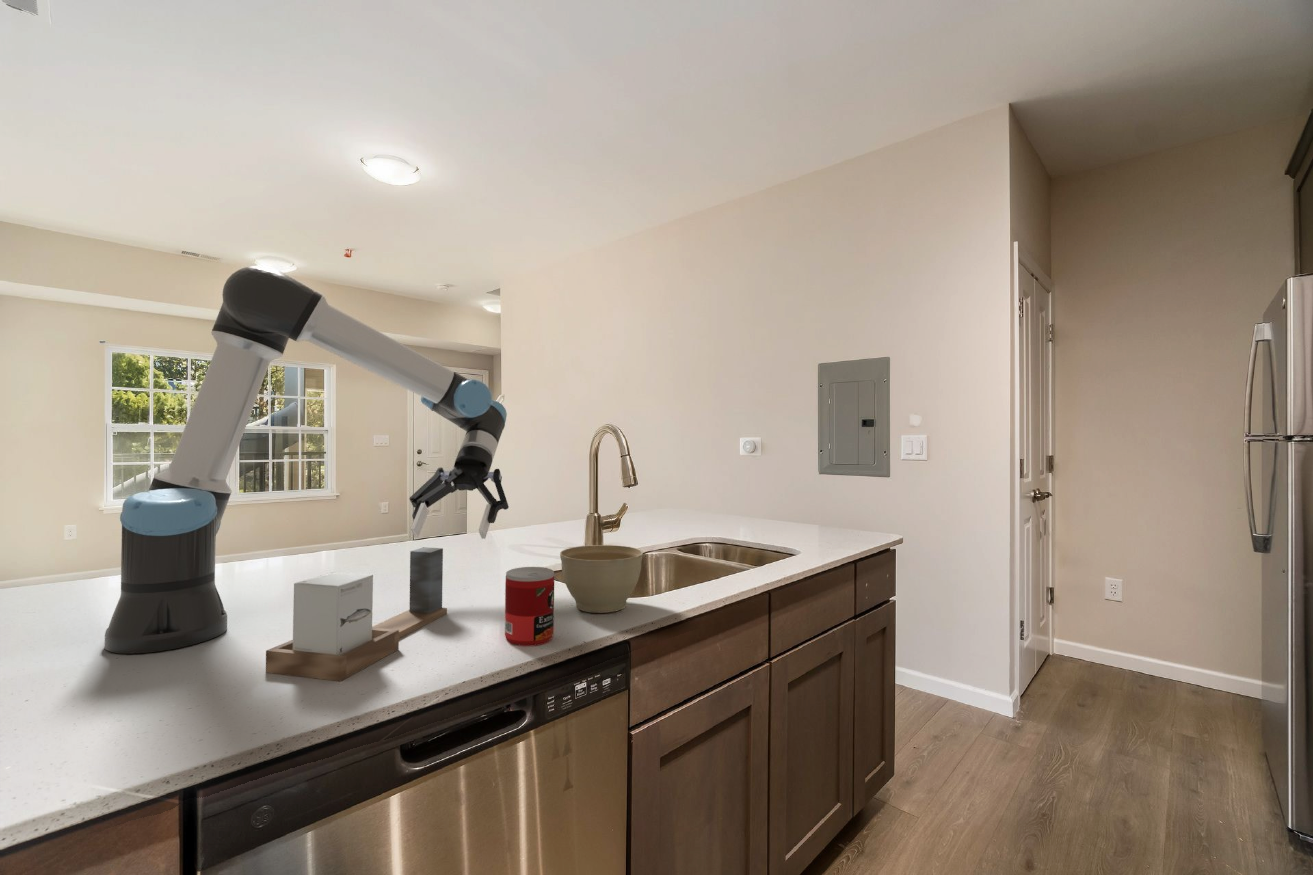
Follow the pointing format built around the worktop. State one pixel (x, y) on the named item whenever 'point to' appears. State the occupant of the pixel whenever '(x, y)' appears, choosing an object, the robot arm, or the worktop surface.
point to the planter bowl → (601, 575)
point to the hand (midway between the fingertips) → (448, 534)
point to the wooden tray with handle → (384, 635)
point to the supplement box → (332, 613)
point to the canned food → (529, 606)
